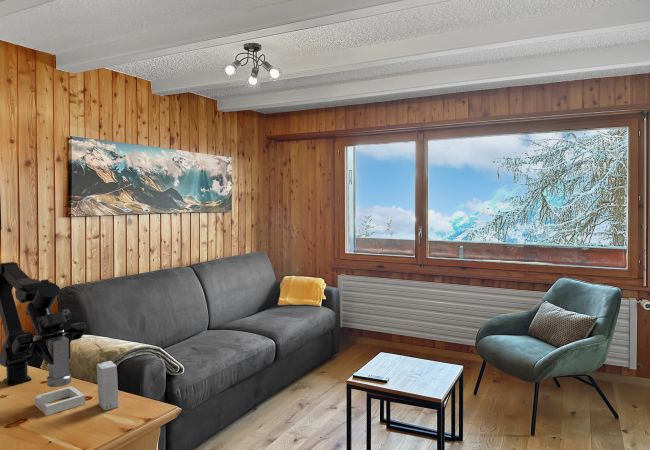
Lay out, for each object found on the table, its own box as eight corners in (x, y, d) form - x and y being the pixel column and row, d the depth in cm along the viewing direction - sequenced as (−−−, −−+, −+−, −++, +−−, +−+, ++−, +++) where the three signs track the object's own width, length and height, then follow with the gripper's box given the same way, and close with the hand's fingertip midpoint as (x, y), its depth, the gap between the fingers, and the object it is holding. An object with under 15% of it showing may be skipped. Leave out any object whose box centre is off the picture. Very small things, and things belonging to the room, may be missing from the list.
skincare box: (119, 407, 132) (118, 365, 131) (102, 411, 129) (101, 369, 128) (113, 399, 137) (112, 359, 136) (96, 404, 134) (96, 363, 133)
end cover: (44, 383, 133) (43, 338, 132) (66, 377, 137) (65, 334, 136) (51, 388, 129) (50, 343, 128) (74, 382, 133) (73, 338, 132)
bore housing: (34, 404, 133) (34, 396, 133) (71, 393, 140) (71, 385, 140) (46, 415, 126) (46, 406, 126) (85, 403, 134) (84, 395, 134)
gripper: (14, 307, 126) (33, 355, 120) (82, 296, 141) (102, 337, 136) (3, 330, 131) (21, 377, 125) (71, 317, 146) (89, 358, 141)
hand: (60, 361), depth 132 cm, fingers closed on end cover, 4 cm apart
